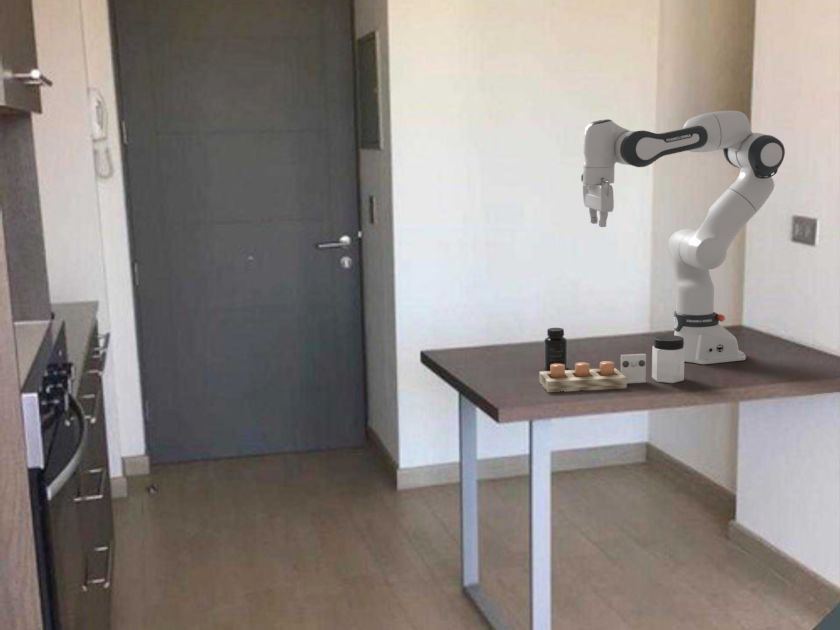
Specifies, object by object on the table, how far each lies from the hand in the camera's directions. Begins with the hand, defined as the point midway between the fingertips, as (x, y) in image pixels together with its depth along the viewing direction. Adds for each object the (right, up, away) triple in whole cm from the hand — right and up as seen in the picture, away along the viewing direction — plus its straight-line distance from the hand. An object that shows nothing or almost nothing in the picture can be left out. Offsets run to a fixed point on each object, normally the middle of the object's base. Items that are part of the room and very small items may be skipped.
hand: (598, 225), depth 288 cm
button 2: (0, -42, -12) cm, 44 cm away
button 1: (-14, -43, -13) cm, 47 cm away
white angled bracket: (+8, -45, -11) cm, 47 cm away
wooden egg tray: (-7, -46, -12) cm, 48 cm away
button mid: (-7, -43, -12) cm, 45 cm away
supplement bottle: (-11, -42, +7) cm, 44 cm away
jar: (+18, -45, -8) cm, 49 cm away
